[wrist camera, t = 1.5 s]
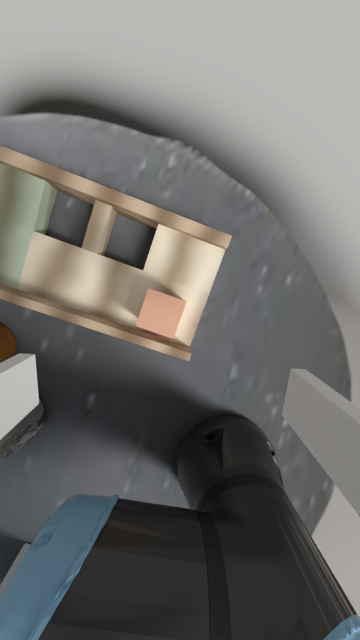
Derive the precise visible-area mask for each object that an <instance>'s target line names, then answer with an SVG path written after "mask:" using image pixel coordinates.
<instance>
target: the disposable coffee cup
mask: <svg viewBox="0 0 360 640" xmlns="http://www.w3.org/2000/svg"><path fill="white" fill-rule="evenodd" d="M15 351H16V339H15V336H14V334H13V333H12V331H11V330H10V329H9V328H8V327H7V326H5V325H3V324H1V323H0V363H1V362H3V361H5V360H7V359H9V358H11V357H13V356H14V354H15Z"/></svg>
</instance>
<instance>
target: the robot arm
mask: <svg viewBox="0 0 360 640" xmlns="http://www.w3.org/2000/svg"><path fill="white" fill-rule="evenodd" d="M38 404H39V395H38V383H37V371H36V359H35V354H21V353H19V354H17V355H15V356H13V357H11V358H9V359H7V360H5V361H3V362H1V363H0V440H1V439H2V438H3V437H4V436H5V435H6V434H7V433H8V432H9V431H10V430H11V429H12V428H13V427H14V426H16V425H17V424H18V423H19V422H20V421H21V420H22V419H23V418H24V417H25V416H26V415H27V414H28V413H29V412H30V411H31V410H33V409H34V408H35V407H36V406H37V405H38ZM282 415H283V417H284V418H285V419H286V421H287V422H288V423H289V425H290V426H291V427H292V428H293V430H294V431H295V432H296V434H297V435H298V436H299V438H300V439H301V440H302V442H303V443H304V444H305V445H306V447H307V448H308V449H309V451H310V452H311V453H312V455H313V456H314V457H315V458H316V460H317V461H318V462H319V464H320V465H321V466H322V468H323V469H324V470H325V471H326V473H327V474H328V475H329V477H330V478H331V479H332V481H333V482H334V483H335V485H336V486H337V487H338V488H339V490H340V491H341V492H342V494H343V495H344V496H345V497H346V499H347V500H348V501H349V503H350V504H351V505H352V507H353V508H354V509H355V511H356V512H357V513H358V514H359V516H360V408H358V407H357V406H355V405H354V404H353V403H351V402H350V401H348V400H347V399H346V398H344V397H343V396H342V395H340V394H339V393H337V392H336V391H335V390H333V389H332V388H330V387H329V386H328V385H326V384H325V383H324V382H322V381H321V380H319V379H318V378H317V377H315V376H314V375H312V374H311V373H310V372H308V371H307V370H305V369H291V371H290V376H289V381H288V386H287V391H286V397H285V402H284V407H283V412H282ZM177 463H178V478H179V483H180V486H181V489H182V491H183V492H184V495H185V498H186V500H187V503H188V505H189V508H190V509H186V508H180V507H173V506H167V505H160V504H153V503H147V502H140V501H133V500H127V499H120V498H119V495H113V496H112V497H109V496H97V495H86V494H81V495H76V496H73V497H71V498H69V499H68V500H66V501H65V502H64V503H63V504H62V505H61V506H59V507H58V508H57V510H56V511H55V512H54V513H53V514H52V515H51V517H50V518H49V519H48V521H47V522H46V523H45V525H44V526H43V528H42V529H41V530H40V532H39V533H38V535H37V536H36V538H35V539H34V541H33V543H32V544H31V546H30V547H29V549H28V551H27V552H26V554H25V555H24V557H23V559H22V560H21V562H20V564H19V565H18V567H17V569H16V571H15V572H14V574H13V576H12V577H11V579H10V581H9V583H8V584H7V586H6V588H5V590H4V592H3V593H2V595H1V597H0V640H360V617H359V616H358V615H357V613H356V612H355V610H354V608H353V607H352V605H351V604H350V602H349V600H348V598H347V597H346V595H345V593H344V592H343V590H342V588H341V586H340V585H339V583H338V581H337V580H336V578H335V576H334V574H333V573H332V571H331V569H330V568H329V566H328V564H327V563H326V561H325V559H324V558H323V556H322V554H321V552H320V551H319V549H318V548H317V546H316V544H315V542H314V540H313V539H312V537H311V535H310V534H309V532H308V530H307V529H306V527H305V525H304V524H303V522H302V520H301V518H300V517H299V515H298V513H297V512H296V510H295V508H294V507H293V505H292V503H291V501H290V500H289V498H288V496H287V494H286V493H285V491H284V486H283V482H282V478H281V473H280V470H279V467H278V461H277V457H276V453H275V451H274V448H273V446H272V445H271V443H270V441H269V440H268V438H267V437H266V435H265V434H264V432H263V431H262V430H261V429H260V428H259V427H258V426H257V425H256V424H254V423H253V422H251V421H249V420H247V419H244V418H241V417H237V416H217V417H213V418H210V419H207V420H205V421H203V422H201V423H200V424H198V425H197V426H195V427H194V428H193V429H192V430H191V431H190V432H189V433H188V434H187V435H186V437H185V438H184V440H183V442H182V444H181V446H180V449H179V452H178V459H177Z"/></svg>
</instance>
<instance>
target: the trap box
mask: <svg viewBox="0 0 360 640" xmlns="http://www.w3.org/2000/svg"><path fill="white" fill-rule="evenodd" d="M57 191H59V192H61V193H64V194H66V195H69V196H72V197H74V198H77V199H80V200H82V201H85V202H87V203H90V204H93V205H94V206H93V210H92V213H91V217H90V220H89V224H88V227H87V231H86V234H85V238H84V241H83V244H82V248H79V247H77V246H74V245H71V244H68V243H66V242H63V241H60V240H57V239H55V238H52V237H49V236H46V232H47V229H48V225H49V221H50V217H51V214H52V210H53V206H54V202H55V198H56V195H57ZM117 214H119V215H121V216H124V217H127V218H129V219H132V220H135V221H137V222H140V223H142V224H145V225H148V226H150V227H153V228H156V229H157V230H156V233H155V236H154V239H153V242H152V245H151V248H150V251H149V254H148V257H147V260H146V263H145V266H144V269H143V270H140V269H138V268H135V267H132V266H129V265H126V264H124V263H121V262H118V261H115V260H113V259H110V258H107V257H104V255H105V251H106V248H107V245H108V241H109V238H110V235H111V231H112V228H113V225H114V221H115V218H116V215H117ZM231 237H232V236H231V235H228V234H225V233H223V232H220V231H218V230H215V229H213V228H210V227H208V226H205V225H202V224H200V223H197V222H195V221H192V220H190V219H187V218H185V217H182V216H179V215H177V214H174V213H172V212H169V211H167V210H164V209H162V208H159V207H156V206H154V205H151V204H149V203H146V202H144V201H141V200H139V199H136V198H133V197H131V196H128V195H126V194H123V193H121V192H118V191H116V190H113V189H110V188H108V187H105V186H103V185H100V184H98V183H95V182H93V181H90V180H87V179H85V178H82V177H80V176H77V175H75V174H72V173H70V172H67V171H64V170H62V169H59V168H57V167H54V166H52V165H49V164H47V163H44V162H41V161H39V160H36V159H34V158H31V157H29V156H26V155H24V154H21V153H18V152H16V151H13V150H11V149H8V148H6V147H3V146H1V145H0V299H2V300H5V301H8V302H11V303H14V304H17V305H20V306H23V307H26V308H29V309H32V310H35V311H38V312H41V313H44V314H47V315H50V316H53V317H56V318H59V319H62V320H65V321H68V322H71V323H74V324H77V325H80V326H83V327H86V328H89V329H92V330H95V331H99V332H102V333H105V334H108V335H111V336H114V337H117V338H120V339H123V340H126V341H129V342H132V343H135V344H138V345H141V346H144V347H147V348H150V349H153V350H156V351H159V352H162V353H165V354H168V355H171V356H174V357H177V358H180V359H183V360H186V361H189V360H190V357H191V354H192V353H191V350H190V344H191V342H192V339H193V336H194V334H195V331H196V328H197V325H198V323H199V320H200V317H201V315H202V312H203V309H204V306H205V304H206V301H207V298H208V296H209V293H210V290H211V287H212V285H213V282H214V279H215V277H216V274H217V271H218V268H219V266H220V263H221V260H222V258H223V255H224V252H225V250H226V249H227V248H228V245H229V243H230V240H231ZM148 288H150V289H154V290H157V291H160V292H162V293H165V294H168V295H171V296H174V297H177V298H179V299H182V300H185V301H186V305H185V308H184V311H183V313H182V316H181V319H180V322H179V325H178V327H177V330H176V333H175V336H174V339H172V338H169V337H166V336H163V335H160V334H157V333H154V332H151V331H148V330H145V329H142V328H140V327H137V326H136V324H137V321H138V318H139V315H140V312H141V309H142V306H143V303H144V300H145V297H146V294H147V291H148Z"/></svg>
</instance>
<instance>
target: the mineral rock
mask: <svg viewBox="0 0 360 640" xmlns="http://www.w3.org/2000/svg"><path fill="white" fill-rule="evenodd" d="M46 421H47V419H46V416H45V415H44V406H43V404H42V402H41V400H40V399H39V404H38V405H37V406H36V407H35V408H34V409H33V410H31V411H30V412H29V413H28V414H27V415H26V416H25V417H24V418H23V419H22V420H21V421H20V422H19V423H18V424H17V425H16V426H14V427H13V428H12V429H11V430H10V431H9V432H8V433H7V434H6V435H5V436H4V437H3V438H2V439H1V440H0V461H1V460H3V459H5V458H7V457H8V456H10V455H12V454H13V453H14V452H16V451H18V450H20V449H21V448H22V447H23V446H24V444H25V443H26V441H27V440H28V439H30V438H31V437H33V436H34V435H35V434H36V433H37V432H36V431H38V430H40V428H41V427H42V426H43V425H44V424H45V423H46Z"/></svg>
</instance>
